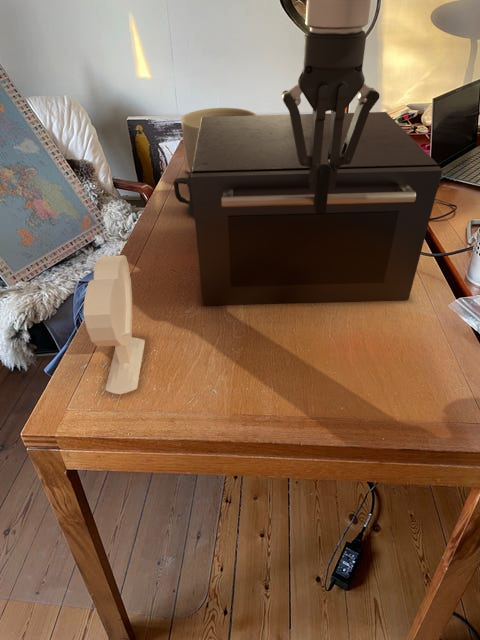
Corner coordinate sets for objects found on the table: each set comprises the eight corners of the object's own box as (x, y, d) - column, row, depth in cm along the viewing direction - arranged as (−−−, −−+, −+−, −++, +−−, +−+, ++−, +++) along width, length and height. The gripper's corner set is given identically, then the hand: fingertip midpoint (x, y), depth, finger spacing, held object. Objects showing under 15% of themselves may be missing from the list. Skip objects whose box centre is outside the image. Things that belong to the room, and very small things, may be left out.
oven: (405, 295, 90) (438, 164, 74) (203, 300, 90) (191, 171, 74) (367, 221, 115) (386, 111, 99) (209, 225, 115) (201, 116, 99)
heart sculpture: (135, 397, 71) (112, 304, 59) (102, 399, 70) (73, 306, 59) (146, 333, 83) (129, 245, 72) (118, 334, 83) (97, 247, 71)
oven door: (414, 312, 86) (451, 179, 69) (201, 317, 86) (189, 186, 70) (406, 295, 90) (439, 166, 74) (203, 300, 90) (191, 173, 74)
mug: (223, 203, 125) (221, 163, 118) (219, 218, 118) (217, 176, 111) (180, 203, 126) (176, 162, 119) (173, 217, 119) (168, 175, 112)
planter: (257, 199, 127) (257, 128, 115) (183, 199, 128) (175, 129, 116) (258, 172, 143) (258, 107, 131) (192, 172, 144) (186, 107, 132)
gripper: (381, 24, 59) (356, 198, 74) (280, 27, 59) (275, 200, 74) (397, 31, 53) (367, 218, 68) (285, 34, 53) (279, 221, 68)
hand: (319, 209), depth 71 cm, fingers closed
